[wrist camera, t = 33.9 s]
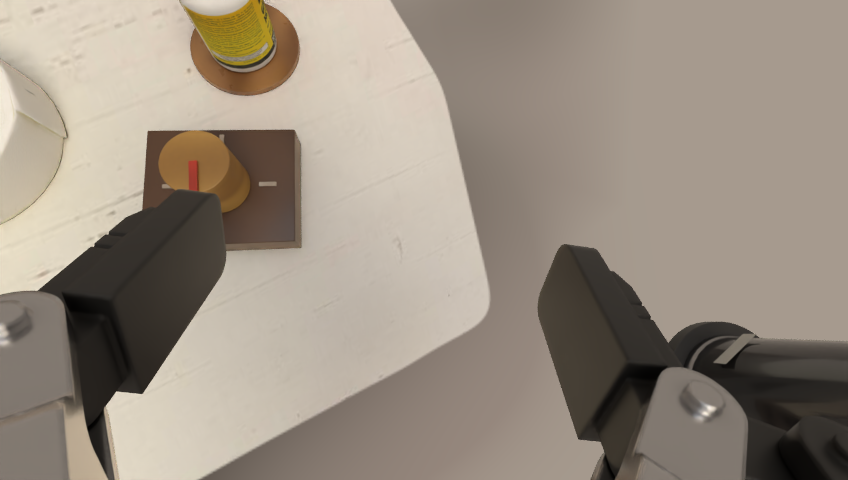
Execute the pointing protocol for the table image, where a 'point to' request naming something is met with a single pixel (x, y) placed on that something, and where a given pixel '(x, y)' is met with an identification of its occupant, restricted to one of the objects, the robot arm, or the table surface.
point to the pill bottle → (234, 31)
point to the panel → (269, 186)
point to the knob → (204, 168)
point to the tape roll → (26, 141)
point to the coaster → (258, 79)
